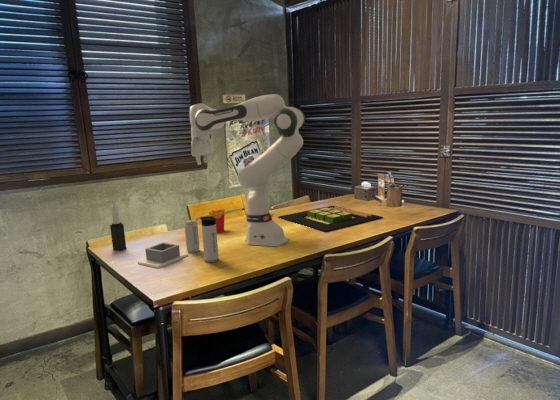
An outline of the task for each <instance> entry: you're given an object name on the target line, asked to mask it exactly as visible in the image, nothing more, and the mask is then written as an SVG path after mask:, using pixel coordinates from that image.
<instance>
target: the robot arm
mask: <svg viewBox="0 0 560 400" xmlns="http://www.w3.org/2000/svg"><path fill="white" fill-rule="evenodd" d="M269 119H273V120H274V125H275V128H276V129H277V131H278V133H279V135H280V136H279V138H278V139H276V140H275V141H274V142H273V144H271V145H270V146H269V147H268V148H267V149H266V150H264V152H263V153H261V154H259V155H258V156H257V157H256V158H255V159H253V160H252V161H250V162H249V163H248V164H247V165H246V166H244V167H243V168H242V169H241V170H240V171H239V172H238V174H237V181H238V183H239V185H240V186H241V187H242V188H245V189H248V194H247V195H246V199H245V200H246V223H247V229H246V235H245V236H246V237H245V242H247V245H252V246H263V247H278V246H282V245H285V244H286V243H288V242H289V240H290V237H288V236H285V233H284V229H283V227H281V226H280V225H279V224H278V223H277V222H276V221H274V220H273V217H274V214H271V213H270V212H271V211H270V209H269V208H270V207H269V205H270V204H269V193H270V188H271V187H270V185H271V180H272V179H273V176H274V175H273V174H275V173H277V171H278V170H280V169H282V167H284V166H285V164H287V163H288V162H289V161H290V160H291V159H293V158H294V156H295V155H296V154H297V153H298V152H299V151H300V150H301V148H302V147H303V145H304V139H303V136H302V135H301V133H300V132H299V129H301V128H302V127H303V125H304V124H305V121H306V116H305V113H304V112H303V111H302V110H301V109H300V108H298V107H295V106H292V105H289V104H288V105H286V104H285V101H284V99H283V97H282V96H281V95H280V94H277V93H273V94H265V95H259V96H255V97H252V98H250V99H246V100H245V101H243V102H241V103H237V104H235V105H232V106H228V107H224V108H219V109H215V108H212V107H209V106H208V105H207V104H205V103H202V102H201V103H196V104H193V105H191V106H190V107H189V124H190V127H191V128H190V133H191V134H190V135H191V136H190V137H191V142H190V143H191V144H190V151H191V156H192V157H195V160H196V164H197V166H201V165H202V164H207V163H209V162H208V159H209V154H211V153H212V141H211V140H212V138H213V137H212V135H211V134H210V132H209V130H211V131H212V130H213V131H214V130H220V129H222V128H223V127H225V125H226V123H227V122H232V121H244V122H245V121H246V122H258V121H263V120H269ZM201 156H203V163H202V160H201Z"/></svg>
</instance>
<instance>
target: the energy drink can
mask: <svg viewBox="0 0 560 400" xmlns="http://www.w3.org/2000/svg"><path fill="white" fill-rule="evenodd" d="M184 232H185V233H184V234H185V245H186V251H187V253H188V254H190V253H191V254H192V253H193V254H194V253H199V250H200V240H199V239H200V238H199V228H198V223H197V221H196V219H188V220H187V219H186V220H185V223H184Z"/></svg>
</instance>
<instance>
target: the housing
mask: <svg viewBox="0 0 560 400" xmlns="http://www.w3.org/2000/svg"><path fill="white" fill-rule="evenodd" d="M144 250H145V258H144V259H141V260H138V261H137V264H138V265H142V266H146V267H151V268H154V269H160V268H162V267H165V266H167V265H170V264H172V263H174V262H176V261H178V260H181V259H183V258H186V257H188V256H189V252H183V251H181V250H180V245H179V244H174V243H168V242H159V243H158V244H157V243H156V245H151V246H149V247H146V248H145V249H144Z"/></svg>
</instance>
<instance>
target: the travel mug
mask: <svg viewBox="0 0 560 400" xmlns="http://www.w3.org/2000/svg"><path fill="white" fill-rule="evenodd" d="M200 221H201V234H202V247H203V257H204V262H205V263H208V264H211V263H212V264H213V263H216V262H219V259H220V258H219V248H218V232H217V231H216V220H215V218H214V217H209V216H200Z"/></svg>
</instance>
